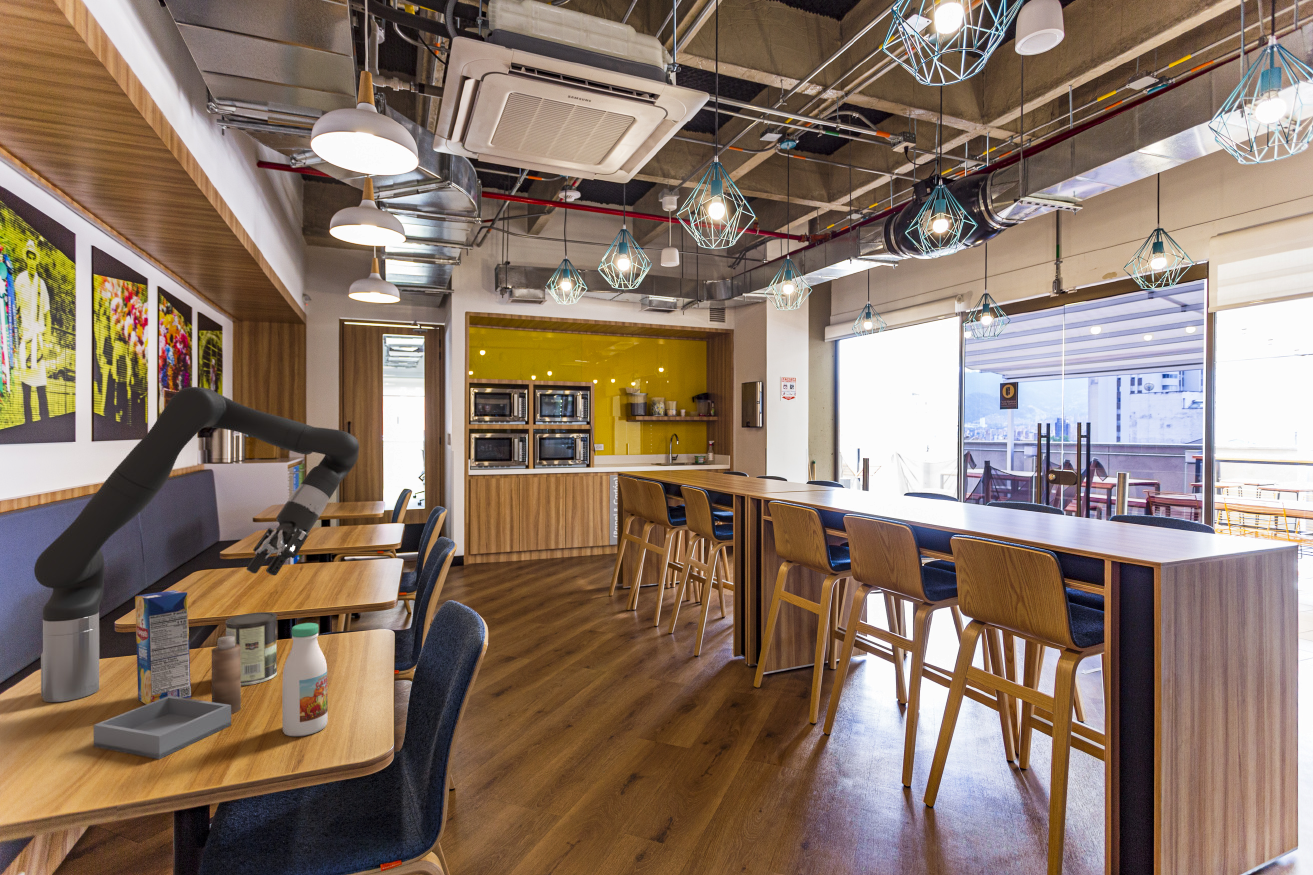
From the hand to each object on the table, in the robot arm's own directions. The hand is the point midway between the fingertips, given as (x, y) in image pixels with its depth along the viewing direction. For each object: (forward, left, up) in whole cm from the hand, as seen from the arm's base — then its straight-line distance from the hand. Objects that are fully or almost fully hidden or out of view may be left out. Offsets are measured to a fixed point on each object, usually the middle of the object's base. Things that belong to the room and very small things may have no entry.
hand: (260, 572), depth 143 cm
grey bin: (-2, -19, -27) cm, 33 cm away
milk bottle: (+21, -9, -27) cm, 36 cm away
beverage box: (-18, -7, -27) cm, 33 cm away
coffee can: (-12, +9, -27) cm, 31 cm away
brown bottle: (-1, -7, -27) cm, 28 cm away
